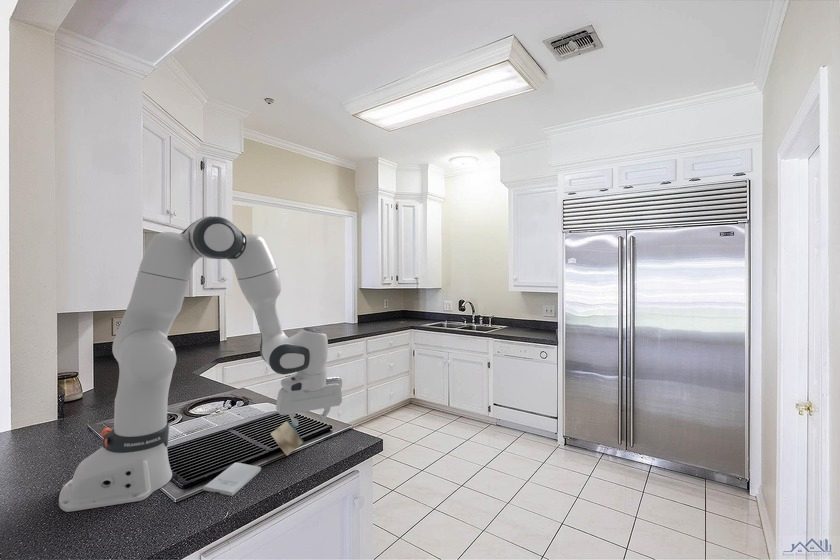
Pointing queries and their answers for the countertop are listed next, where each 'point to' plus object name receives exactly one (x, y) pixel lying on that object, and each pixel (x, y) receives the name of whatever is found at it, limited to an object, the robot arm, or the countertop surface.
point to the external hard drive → (232, 479)
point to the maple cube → (287, 437)
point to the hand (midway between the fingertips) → (309, 423)
